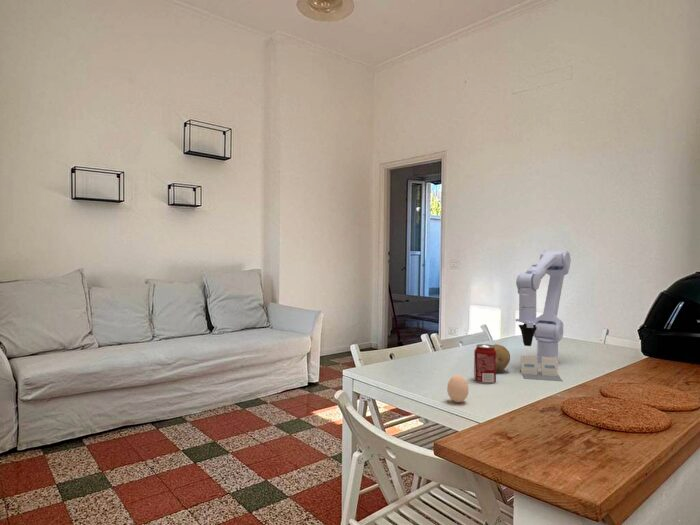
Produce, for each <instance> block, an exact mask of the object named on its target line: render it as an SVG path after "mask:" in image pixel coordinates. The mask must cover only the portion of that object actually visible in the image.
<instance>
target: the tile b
mask: <svg viewBox="0 0 700 525" xmlns="http://www.w3.org/2000/svg"><path fill="white" fill-rule="evenodd" d="M558 363H559V357H558V358H556V357H541V365H540V372H541V375H548V376H558V375H559V372H558V370H559V369H558V368H559V366H558Z"/></svg>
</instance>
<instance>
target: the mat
mask: <svg viewBox="0 0 700 525" xmlns="http://www.w3.org/2000/svg"><path fill="white" fill-rule="evenodd" d="M519 372H520V373H521V369H520V370H519ZM521 376H522V378H523V379H524V380H532V381H533V380H535V381H549V382H550V381H552V382H564V381H563V379H562V378H561V377H560V375H559V374H558V376H548V375H541V370H540V371H538V370H537V375H532V374H521Z"/></svg>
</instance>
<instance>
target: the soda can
mask: <svg viewBox="0 0 700 525" xmlns="http://www.w3.org/2000/svg"><path fill="white" fill-rule="evenodd" d="M493 345H494V344H487V343H480V344H479V343H477V344H476V345H475V346H476V347H475V349H474V352H473V354H474V356H473V357H474V358H473V359H474V360H473V363H474V364H473V366H474V367H473V369H474V370H473V373H474V374H473V380H474V382H476V383H479V384H484V385H486V384H487V385H491V384H495V383H496V382H497V372H496V351H495V349H494V346H493Z"/></svg>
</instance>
